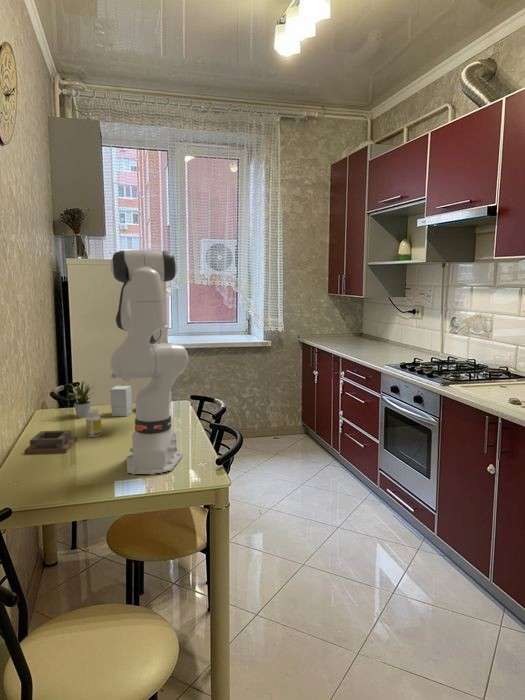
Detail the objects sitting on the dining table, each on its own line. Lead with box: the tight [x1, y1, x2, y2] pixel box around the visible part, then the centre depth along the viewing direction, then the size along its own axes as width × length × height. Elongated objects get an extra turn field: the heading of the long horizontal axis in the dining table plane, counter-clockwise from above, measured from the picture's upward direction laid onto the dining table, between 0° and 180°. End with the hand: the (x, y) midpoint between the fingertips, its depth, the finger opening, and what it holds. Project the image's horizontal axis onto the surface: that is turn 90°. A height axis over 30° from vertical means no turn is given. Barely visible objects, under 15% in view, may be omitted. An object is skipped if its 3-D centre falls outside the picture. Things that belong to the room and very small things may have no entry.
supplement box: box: [109, 385, 133, 417], centre depth 226 cm, size 7×7×13 cm
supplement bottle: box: [85, 409, 102, 438], centre depth 195 cm, size 5×5×10 cm
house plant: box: [63, 380, 93, 418], centre depth 224 cm, size 14×14×16 cm
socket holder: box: [24, 429, 78, 455], centre depth 181 cm, size 14×14×4 cm
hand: (118, 379), depth 202 cm, fingers open, 8 cm apart
